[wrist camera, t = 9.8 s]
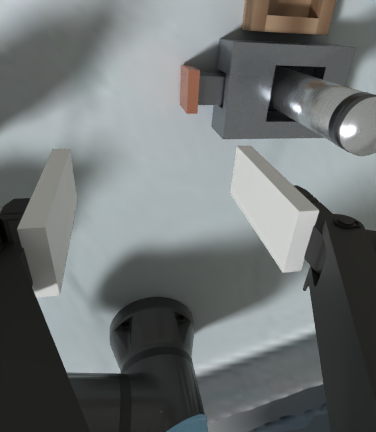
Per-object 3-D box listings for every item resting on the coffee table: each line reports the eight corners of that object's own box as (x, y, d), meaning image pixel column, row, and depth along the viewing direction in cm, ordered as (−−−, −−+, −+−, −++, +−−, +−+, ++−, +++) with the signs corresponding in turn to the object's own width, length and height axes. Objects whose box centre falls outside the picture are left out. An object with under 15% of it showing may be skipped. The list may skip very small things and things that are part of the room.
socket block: (211, 126, 42) (222, 139, 37) (219, 38, 36) (233, 41, 32) (309, 126, 44) (329, 137, 40) (329, 44, 39) (355, 47, 35)
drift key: (180, 104, 39) (186, 113, 36) (181, 64, 37) (188, 70, 33) (243, 105, 41) (256, 113, 37) (249, 67, 38) (262, 72, 35)
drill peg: (255, 106, 41) (337, 157, 26) (262, 66, 39) (355, 97, 24) (289, 106, 42) (386, 156, 27) (297, 67, 40) (409, 98, 25)
